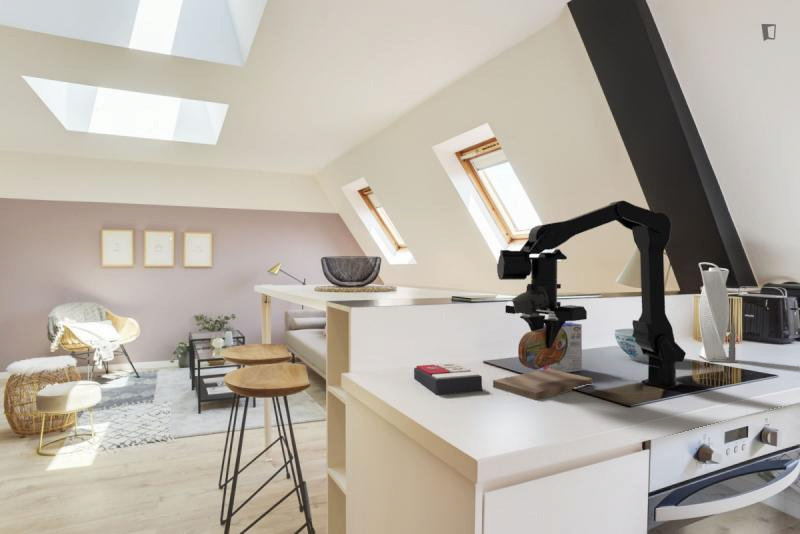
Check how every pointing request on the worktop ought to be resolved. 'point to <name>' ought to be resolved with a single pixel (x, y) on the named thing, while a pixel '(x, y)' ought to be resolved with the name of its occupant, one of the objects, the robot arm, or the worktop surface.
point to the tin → (541, 349)
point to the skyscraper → (715, 316)
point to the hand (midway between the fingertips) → (543, 347)
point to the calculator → (448, 379)
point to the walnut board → (541, 383)
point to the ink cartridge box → (570, 350)
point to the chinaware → (629, 344)
